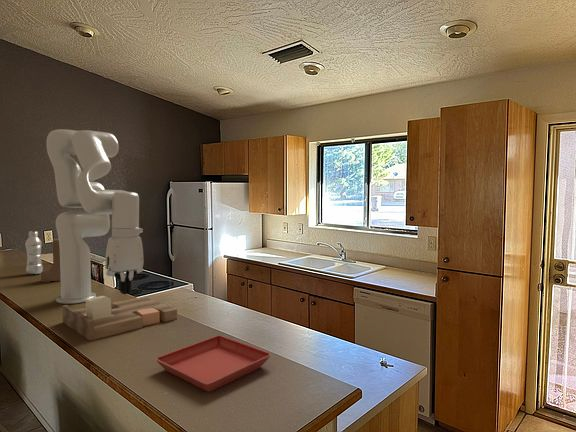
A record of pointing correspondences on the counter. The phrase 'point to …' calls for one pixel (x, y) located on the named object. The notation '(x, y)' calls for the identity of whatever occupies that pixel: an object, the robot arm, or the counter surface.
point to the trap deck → (115, 318)
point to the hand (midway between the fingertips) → (125, 292)
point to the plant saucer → (213, 362)
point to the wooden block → (54, 271)
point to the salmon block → (149, 316)
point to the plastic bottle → (33, 254)
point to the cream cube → (98, 307)
